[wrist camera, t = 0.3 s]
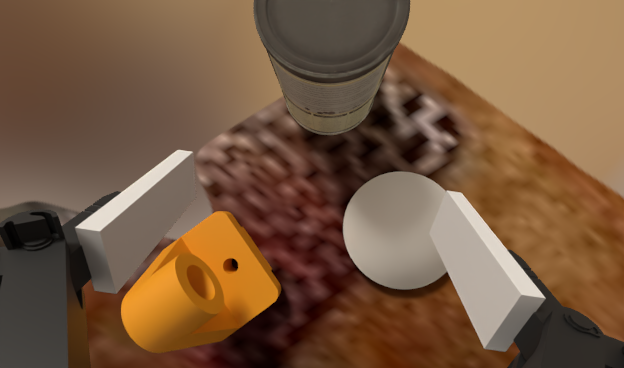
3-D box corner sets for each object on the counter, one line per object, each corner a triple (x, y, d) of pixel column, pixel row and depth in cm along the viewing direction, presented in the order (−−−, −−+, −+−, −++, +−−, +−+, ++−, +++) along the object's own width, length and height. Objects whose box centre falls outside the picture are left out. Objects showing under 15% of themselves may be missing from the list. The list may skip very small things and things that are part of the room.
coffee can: (268, 77, 33) (226, -23, 19) (346, 34, 33) (360, -96, 19) (311, 153, 32) (299, 106, 18) (391, 108, 32) (441, 27, 18)
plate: (457, 289, 30) (462, 292, 29) (341, 283, 30) (341, 286, 29) (456, 175, 31) (461, 173, 30) (344, 171, 32) (345, 169, 31)
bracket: (286, 289, 31) (260, 336, 19) (231, 329, 31) (170, 403, 19) (230, 207, 32) (172, 204, 20) (177, 246, 32) (87, 266, 20)
